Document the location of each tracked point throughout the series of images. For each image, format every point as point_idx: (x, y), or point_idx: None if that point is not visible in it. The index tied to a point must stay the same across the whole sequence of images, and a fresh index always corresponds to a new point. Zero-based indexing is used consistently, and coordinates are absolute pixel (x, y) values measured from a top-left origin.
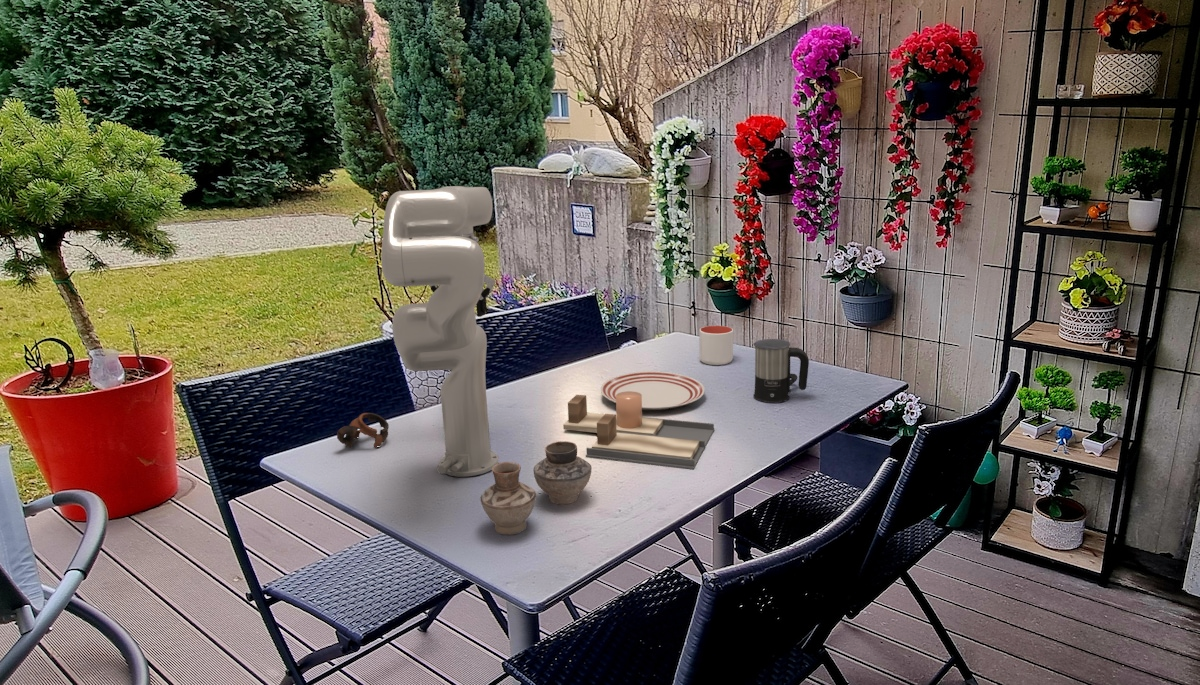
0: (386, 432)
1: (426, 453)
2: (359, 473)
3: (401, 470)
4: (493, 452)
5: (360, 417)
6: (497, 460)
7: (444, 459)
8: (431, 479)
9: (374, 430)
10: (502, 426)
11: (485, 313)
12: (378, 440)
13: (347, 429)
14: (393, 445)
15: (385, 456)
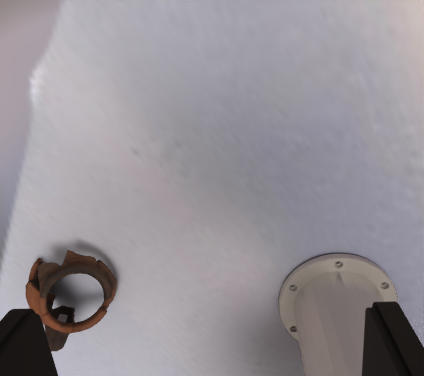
0: (105, 275)
1: (221, 280)
2: (164, 370)
3: (224, 346)
4: (372, 268)
5: (52, 325)
6: (396, 295)
7: (288, 318)
8: (297, 360)
9: (102, 316)
10: (306, 102)
11: (394, 306)
12: (113, 297)
13: (60, 345)
14: (133, 268)
15: (156, 310)
